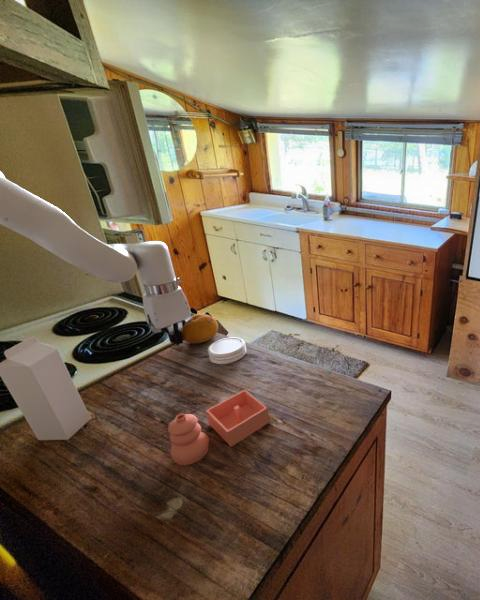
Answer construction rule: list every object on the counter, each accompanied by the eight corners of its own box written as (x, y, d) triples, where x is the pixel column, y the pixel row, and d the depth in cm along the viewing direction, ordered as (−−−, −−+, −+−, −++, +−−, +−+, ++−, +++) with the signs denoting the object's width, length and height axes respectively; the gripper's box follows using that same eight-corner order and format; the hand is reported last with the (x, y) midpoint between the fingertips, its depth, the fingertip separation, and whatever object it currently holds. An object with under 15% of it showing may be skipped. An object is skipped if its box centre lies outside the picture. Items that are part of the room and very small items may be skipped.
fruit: (175, 342, 102) (168, 320, 99) (205, 328, 111) (200, 307, 107) (198, 351, 98) (192, 328, 95) (227, 335, 107) (223, 314, 104)
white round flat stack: (253, 353, 99) (252, 343, 97) (222, 369, 91) (220, 359, 89) (234, 342, 103) (232, 333, 102) (202, 357, 96) (200, 347, 94)
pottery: (247, 402, 80) (241, 370, 75) (269, 421, 75) (264, 388, 70) (164, 450, 66) (151, 414, 62) (184, 477, 61) (171, 439, 57)
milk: (91, 418, 73) (52, 334, 64) (68, 440, 68) (21, 352, 58) (62, 419, 73) (19, 334, 64) (36, 440, 67) (-15, 351, 58)
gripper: (181, 276, 97) (194, 329, 105) (123, 292, 86) (143, 350, 93) (196, 281, 94) (208, 335, 102) (138, 299, 82) (157, 359, 90)
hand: (177, 342), depth 98 cm, fingers closed
